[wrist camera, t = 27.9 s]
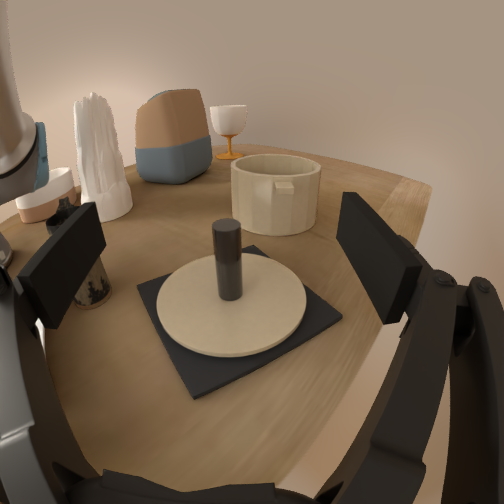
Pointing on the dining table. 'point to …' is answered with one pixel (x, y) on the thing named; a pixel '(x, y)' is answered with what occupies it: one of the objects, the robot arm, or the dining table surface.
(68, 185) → the bowl
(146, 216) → the dining table surface
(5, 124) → the robot arm
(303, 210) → the cooker
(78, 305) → the mug
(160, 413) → the dining table surface
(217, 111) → the cup
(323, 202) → the dining table surface
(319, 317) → the trivet
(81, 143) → the decorative vase
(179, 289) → the cooker lid
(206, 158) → the two-tone home speaker
